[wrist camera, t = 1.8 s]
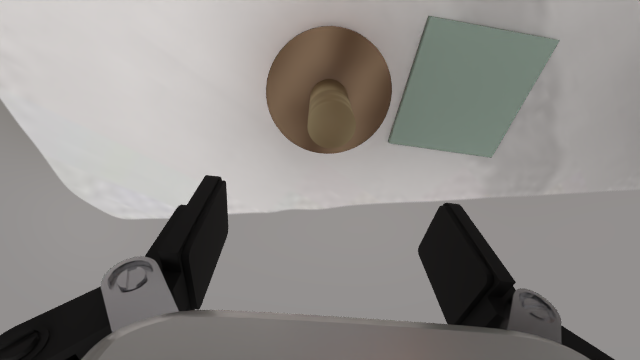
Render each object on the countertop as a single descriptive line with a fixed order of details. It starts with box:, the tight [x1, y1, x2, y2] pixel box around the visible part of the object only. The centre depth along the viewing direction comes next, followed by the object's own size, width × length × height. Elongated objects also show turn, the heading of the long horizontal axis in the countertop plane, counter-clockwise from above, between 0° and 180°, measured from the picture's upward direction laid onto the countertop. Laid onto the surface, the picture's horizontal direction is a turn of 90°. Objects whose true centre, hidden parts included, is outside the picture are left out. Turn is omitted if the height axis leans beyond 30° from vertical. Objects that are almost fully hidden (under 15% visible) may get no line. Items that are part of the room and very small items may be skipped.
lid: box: [266, 26, 392, 154], centre depth 23 cm, size 12×12×8 cm
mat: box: [388, 16, 560, 158], centre depth 31 cm, size 14×14×1 cm
